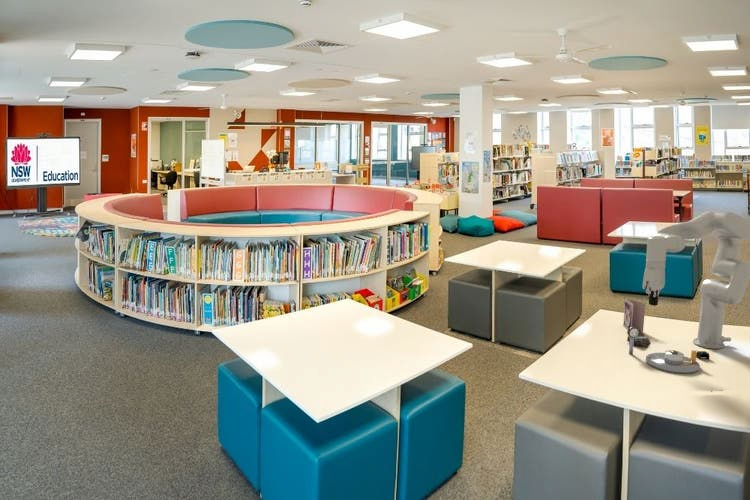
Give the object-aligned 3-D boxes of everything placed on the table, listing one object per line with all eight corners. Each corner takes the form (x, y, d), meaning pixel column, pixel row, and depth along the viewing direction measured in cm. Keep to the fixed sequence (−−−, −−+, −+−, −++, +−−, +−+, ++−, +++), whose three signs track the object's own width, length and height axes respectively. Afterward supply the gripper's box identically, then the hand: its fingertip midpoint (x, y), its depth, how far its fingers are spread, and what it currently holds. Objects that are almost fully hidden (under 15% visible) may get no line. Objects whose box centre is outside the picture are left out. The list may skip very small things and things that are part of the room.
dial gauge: (639, 354, 246) (642, 324, 244) (647, 358, 240) (650, 328, 238) (620, 354, 246) (623, 324, 243) (627, 359, 240) (630, 329, 237)
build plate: (692, 365, 234) (693, 355, 234) (682, 359, 242) (684, 349, 241) (721, 365, 235) (722, 355, 234) (710, 359, 242) (711, 349, 241)
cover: (661, 358, 233) (662, 348, 232) (679, 359, 232) (680, 349, 231) (667, 364, 226) (668, 353, 226) (685, 366, 225) (686, 355, 224)
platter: (639, 354, 242) (641, 340, 241) (688, 357, 239) (690, 343, 237) (654, 372, 223) (655, 356, 221) (707, 375, 219) (709, 360, 218)
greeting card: (621, 325, 287) (623, 298, 284) (636, 326, 286) (638, 298, 283) (629, 332, 275) (631, 304, 273) (644, 333, 275) (647, 304, 272)
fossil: (654, 350, 249) (644, 331, 249) (634, 357, 253) (624, 338, 252) (649, 341, 260) (640, 323, 259) (630, 348, 263) (621, 330, 262)
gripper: (656, 260, 245) (654, 299, 249) (637, 265, 237) (635, 306, 241) (673, 263, 239) (670, 303, 242) (654, 268, 231) (651, 310, 234)
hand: (653, 304), depth 242 cm, fingers closed
